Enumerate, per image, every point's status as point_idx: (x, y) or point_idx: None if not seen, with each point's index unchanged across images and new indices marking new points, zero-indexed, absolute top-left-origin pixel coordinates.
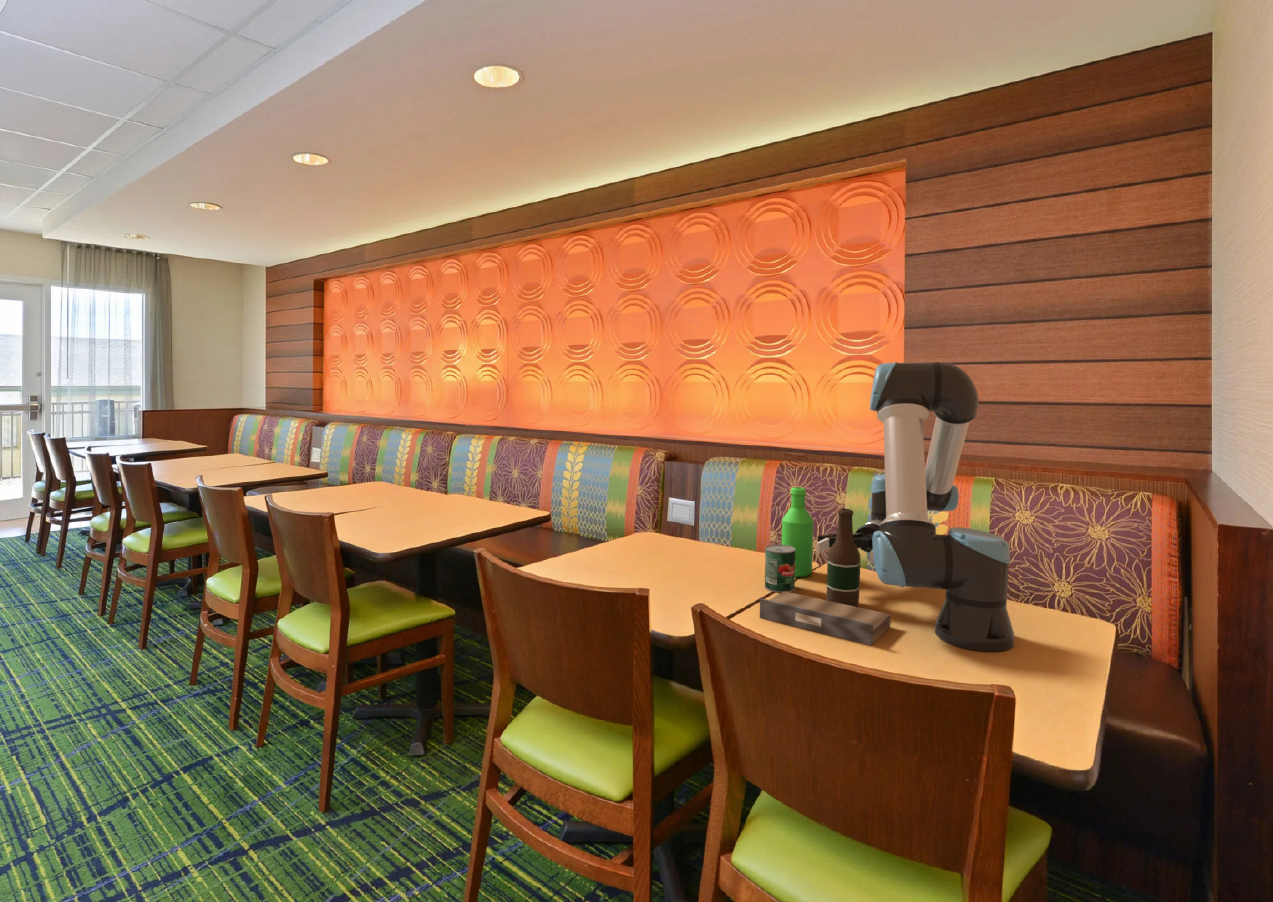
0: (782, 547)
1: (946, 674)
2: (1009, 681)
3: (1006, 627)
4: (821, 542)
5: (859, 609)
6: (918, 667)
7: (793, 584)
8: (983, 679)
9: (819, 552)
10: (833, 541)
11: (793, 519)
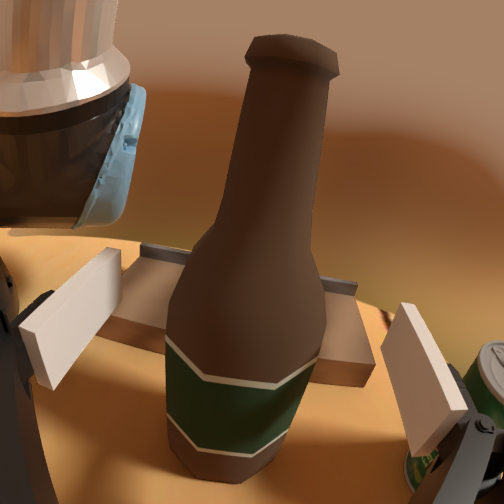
0: None
1: (64, 241)
2: (7, 240)
3: None
4: (409, 321)
5: (161, 319)
6: (90, 246)
7: (415, 467)
8: (30, 239)
9: (383, 348)
10: (435, 477)
11: None
